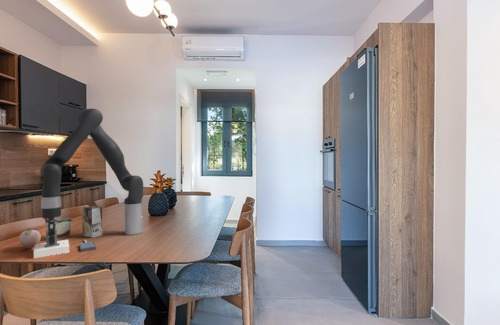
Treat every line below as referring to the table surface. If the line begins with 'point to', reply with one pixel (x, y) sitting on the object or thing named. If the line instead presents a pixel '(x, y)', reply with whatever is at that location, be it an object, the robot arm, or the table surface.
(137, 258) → the table surface
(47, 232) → the charger
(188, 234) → the table surface
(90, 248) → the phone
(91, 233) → the coffee box
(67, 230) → the food container
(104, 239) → the table surface
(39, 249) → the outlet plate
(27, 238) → the decorative fruit
